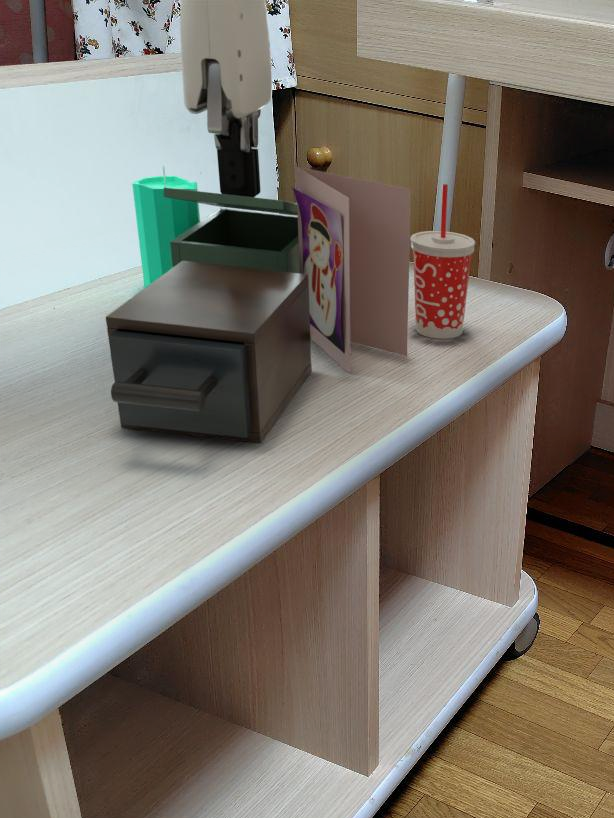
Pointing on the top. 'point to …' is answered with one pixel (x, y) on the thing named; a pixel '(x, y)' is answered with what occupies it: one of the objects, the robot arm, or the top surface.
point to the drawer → (181, 383)
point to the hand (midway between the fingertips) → (240, 194)
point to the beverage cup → (441, 278)
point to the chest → (241, 241)
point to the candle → (161, 221)
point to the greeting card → (354, 261)
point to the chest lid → (233, 201)
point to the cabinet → (233, 327)
